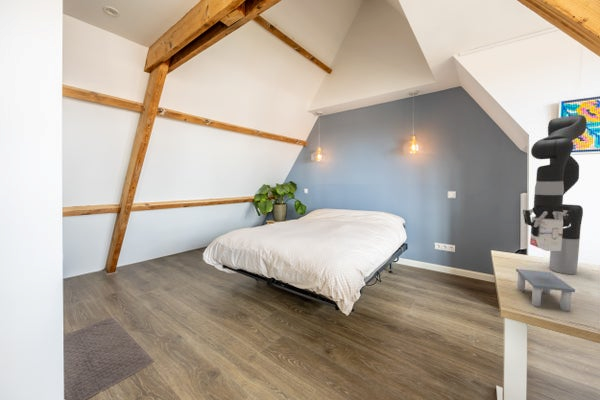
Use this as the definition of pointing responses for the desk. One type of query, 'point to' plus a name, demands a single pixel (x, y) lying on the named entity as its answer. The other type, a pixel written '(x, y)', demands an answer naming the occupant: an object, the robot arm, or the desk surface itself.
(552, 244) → the ink cartridge box
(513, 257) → the desk surface
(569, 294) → the grey toy table
